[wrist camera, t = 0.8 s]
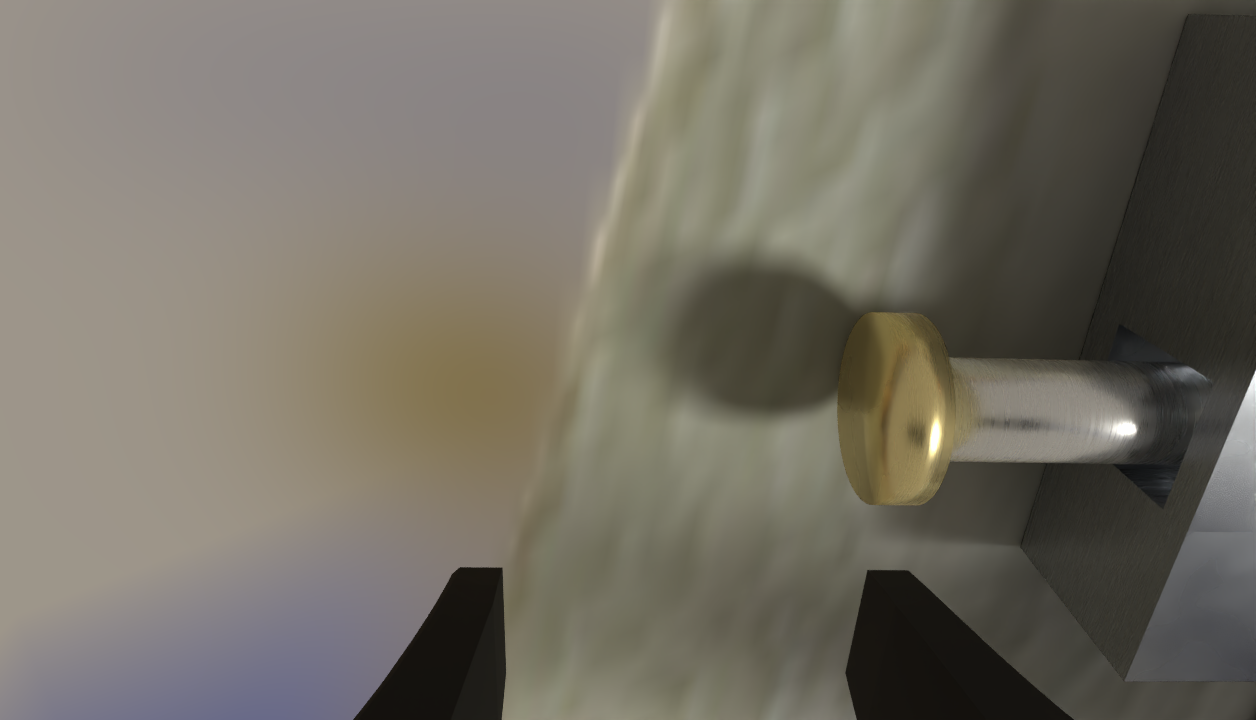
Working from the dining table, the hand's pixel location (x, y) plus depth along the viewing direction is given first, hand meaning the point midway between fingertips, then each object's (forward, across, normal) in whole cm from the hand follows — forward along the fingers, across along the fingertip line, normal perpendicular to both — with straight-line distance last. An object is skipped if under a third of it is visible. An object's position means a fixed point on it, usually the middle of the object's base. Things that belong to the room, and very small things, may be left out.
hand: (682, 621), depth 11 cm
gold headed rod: (+9, -10, 0) cm, 13 cm away
